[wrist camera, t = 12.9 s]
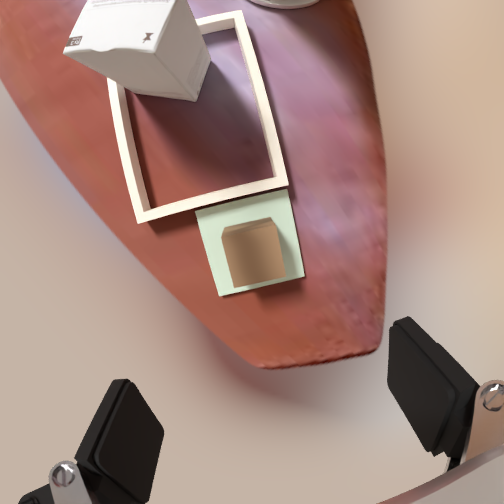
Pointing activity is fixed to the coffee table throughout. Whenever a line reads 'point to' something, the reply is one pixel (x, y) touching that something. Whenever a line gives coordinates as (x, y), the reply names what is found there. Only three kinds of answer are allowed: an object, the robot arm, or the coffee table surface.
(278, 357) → the coffee table surface
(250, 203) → the tile
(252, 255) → the walnut block
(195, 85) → the skincare box
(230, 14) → the cream rectangular frame
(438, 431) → the robot arm
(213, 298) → the coffee table surface
